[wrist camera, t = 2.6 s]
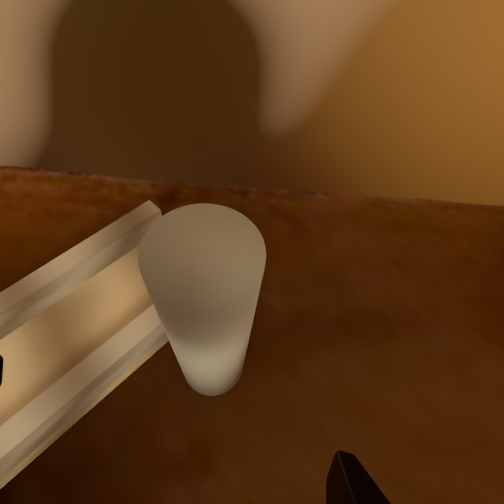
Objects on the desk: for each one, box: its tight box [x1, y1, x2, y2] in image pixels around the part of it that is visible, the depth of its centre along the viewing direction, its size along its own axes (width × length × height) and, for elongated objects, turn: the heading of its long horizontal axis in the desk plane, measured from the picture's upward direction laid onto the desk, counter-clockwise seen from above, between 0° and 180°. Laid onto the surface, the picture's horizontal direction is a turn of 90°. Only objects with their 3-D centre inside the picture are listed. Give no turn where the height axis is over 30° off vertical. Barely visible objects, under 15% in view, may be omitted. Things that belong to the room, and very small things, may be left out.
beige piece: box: [138, 203, 266, 396], centre depth 14 cm, size 4×4×12 cm
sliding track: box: [0, 200, 169, 489], centre depth 18 cm, size 20×8×3 cm, turn 136°
